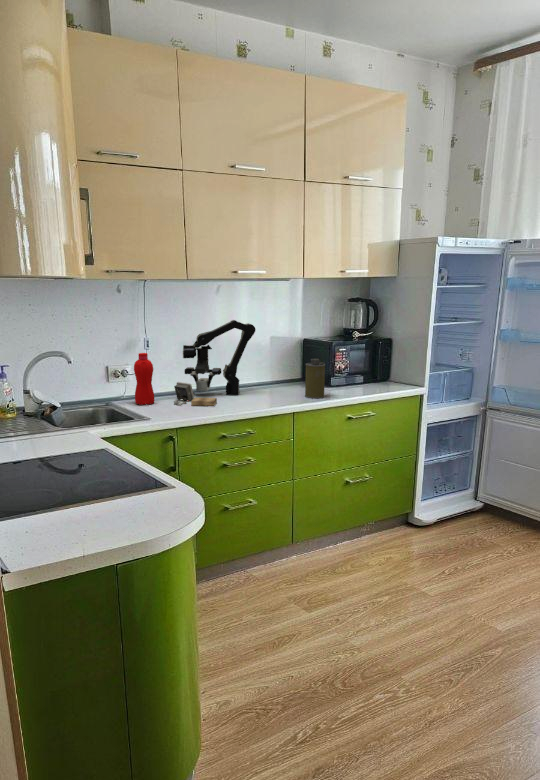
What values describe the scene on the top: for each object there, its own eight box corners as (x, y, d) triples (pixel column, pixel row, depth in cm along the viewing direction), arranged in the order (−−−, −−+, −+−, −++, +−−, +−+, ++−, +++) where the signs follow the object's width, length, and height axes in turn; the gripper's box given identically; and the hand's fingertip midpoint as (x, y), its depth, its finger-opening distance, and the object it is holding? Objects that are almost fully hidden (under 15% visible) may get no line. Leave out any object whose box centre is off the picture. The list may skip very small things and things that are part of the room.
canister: (312, 399, 284) (313, 361, 280) (300, 395, 292) (301, 358, 288) (329, 397, 289) (330, 359, 286) (317, 393, 298) (318, 357, 294)
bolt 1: (182, 405, 268) (182, 402, 267) (180, 406, 267) (180, 402, 266) (176, 404, 271) (176, 400, 270) (173, 404, 270) (173, 401, 269)
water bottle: (153, 400, 279) (151, 351, 274) (155, 404, 269) (153, 354, 264) (134, 401, 277) (132, 351, 272) (135, 405, 267) (133, 354, 262)
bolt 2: (186, 403, 273) (186, 400, 272) (186, 404, 271) (186, 400, 271) (176, 403, 271) (176, 400, 271) (176, 404, 270) (176, 401, 270)
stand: (216, 403, 274) (216, 398, 273) (213, 406, 266) (213, 401, 265) (195, 402, 275) (194, 397, 274) (191, 406, 267) (191, 400, 266)
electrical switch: (195, 400, 280) (193, 382, 277) (188, 403, 275) (186, 385, 273) (181, 398, 285) (179, 381, 282) (174, 401, 280) (172, 383, 278)
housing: (210, 387, 296) (210, 377, 295) (206, 391, 287) (206, 380, 286) (200, 387, 296) (199, 377, 295) (196, 391, 288) (196, 380, 286)
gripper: (181, 359, 281) (182, 389, 284) (217, 360, 280) (217, 390, 283) (186, 356, 292) (187, 385, 295) (221, 357, 290) (221, 386, 294)
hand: (203, 387), depth 291 cm, fingers closed on housing, 5 cm apart
